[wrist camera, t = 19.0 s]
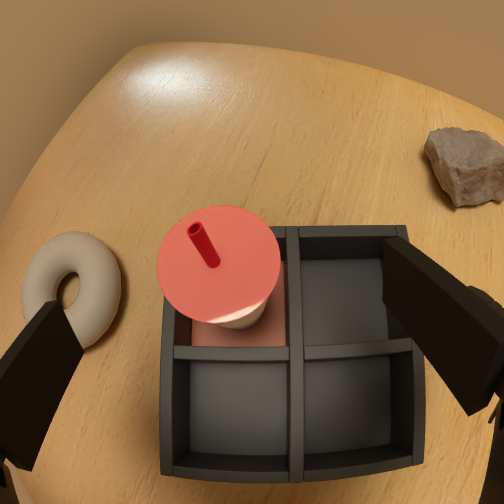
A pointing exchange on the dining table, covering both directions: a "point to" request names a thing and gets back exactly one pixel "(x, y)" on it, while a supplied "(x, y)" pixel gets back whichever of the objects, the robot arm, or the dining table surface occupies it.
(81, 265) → the donut
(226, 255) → the cup
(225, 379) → the grid
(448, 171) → the stone
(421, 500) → the dining table surface
